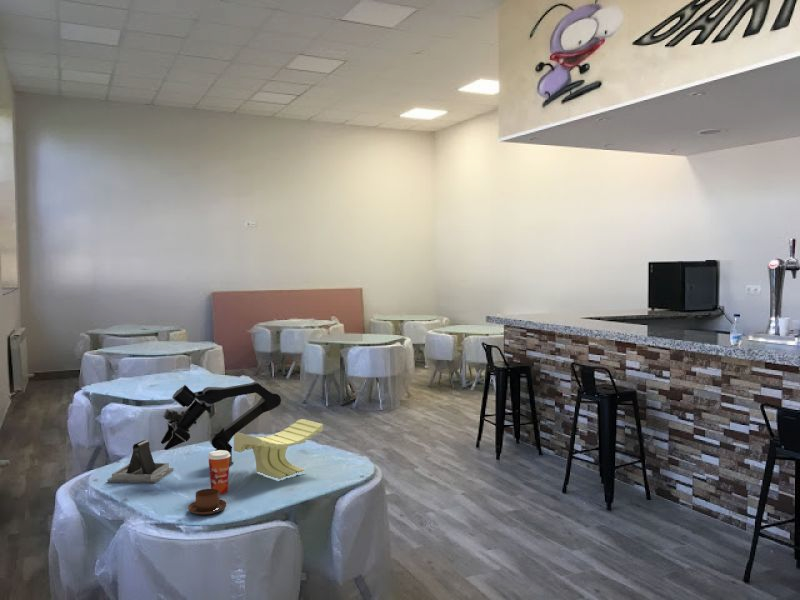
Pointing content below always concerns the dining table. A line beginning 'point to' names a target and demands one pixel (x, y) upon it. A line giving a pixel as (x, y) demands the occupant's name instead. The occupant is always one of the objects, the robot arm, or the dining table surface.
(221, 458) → the paper cup
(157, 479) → the square tray
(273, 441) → the slatted curved stool
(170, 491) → the dining table surface
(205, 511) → the cup and saucer
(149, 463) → the phone stand
